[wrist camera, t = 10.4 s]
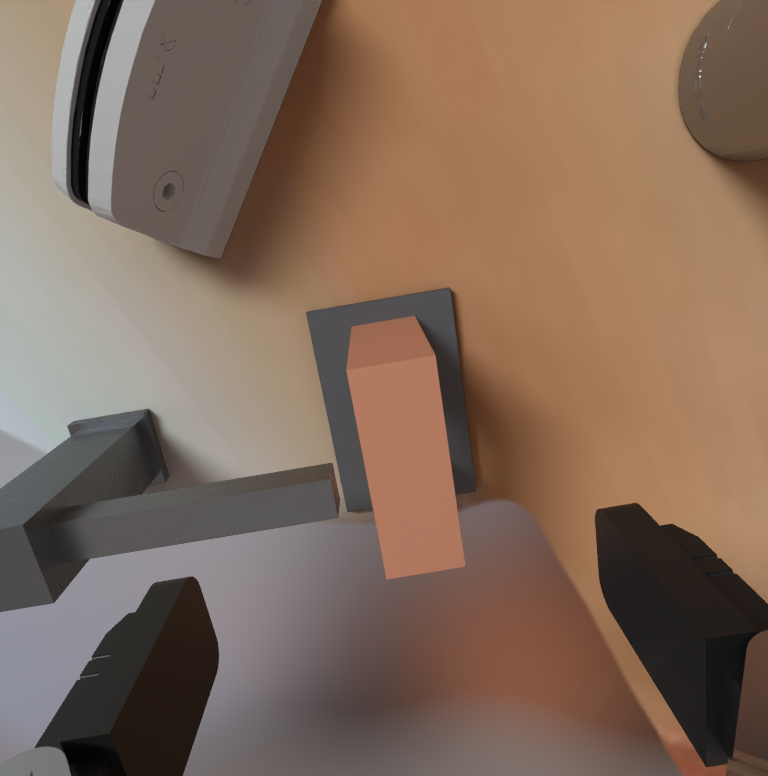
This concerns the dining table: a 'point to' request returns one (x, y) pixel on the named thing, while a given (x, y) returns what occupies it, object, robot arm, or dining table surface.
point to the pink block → (404, 446)
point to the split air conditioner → (172, 109)
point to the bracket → (131, 506)
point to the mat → (331, 359)
